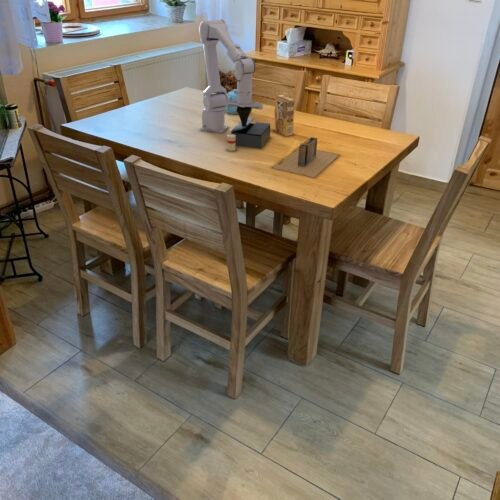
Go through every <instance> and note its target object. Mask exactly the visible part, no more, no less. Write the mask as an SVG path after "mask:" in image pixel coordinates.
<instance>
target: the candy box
mask: <svg viewBox="0 0 500 500" xmlns="http://www.w3.org/2000/svg"><path fill="white" fill-rule="evenodd" d="M295 100H296V99H294V98H291V97H289V96H287V95H284V94H280V95H275V97H274V123H273V124H274V127H273V131H275V132H276V133H279V134H281V135H283V136H286V137H287V136H293V134H294V121H295V102H296V101H295Z"/></svg>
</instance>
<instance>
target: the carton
mask: <svg viewBox="0 0 500 500" xmlns="http://www.w3.org/2000/svg"><path fill="white" fill-rule="evenodd" d="M230 134H233V135H235V136H236V147H244V148H253V149H262V148H263V147H264V145H265V144H266V143H267V142H268V140H269V139H270V138H271V123H269V122H259V121H255V123H253V122H251V123H250V124H249V125H248V126H247V127H246V128H245V129H241V130H237V131H232V132H231V131H230Z"/></svg>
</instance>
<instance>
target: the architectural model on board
mask: <svg viewBox="0 0 500 500" xmlns="http://www.w3.org/2000/svg"><path fill="white" fill-rule="evenodd" d="M318 140H319V138H318V137H314V136H310V137H309V138H308V139H306V140H305V141H304V142H302V143H300V144H299V146H298V149H296V151H294V152H292V153H291V154H290V155H289V156H287V157H286V158H285V159H283V160H282V161H280V162H279V163H278V164H276V165H275V166H274V167H273V169H275V170H280V171H284V172H285V171H286V172H289V173H293V174H297V175H302V176H307V177H311V178H316V176H317V175H319V174H320V173H321V172H322V171H324V169H326V167H328V166H329V165H330V164H331V163H332V162H333V161H334V160H335V159H336V158H338V157H339V156H340V155H339V154H335V153H330V152H326V151H320V150H317V149H318Z"/></svg>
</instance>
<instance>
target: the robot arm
mask: <svg viewBox="0 0 500 500" xmlns="http://www.w3.org/2000/svg"><path fill="white" fill-rule="evenodd" d="M228 30H229V29H228V24H227V22H226V21H225V19H222V18H221V19H212V20H202V21H201V22H200V24H199V27H198V32H199V39H200V43H201V44H202V47H203V53H204V54H203V55H204V62H205V69H206V70H205V71H206V78H207V85H208V86H207V87H206V88H205V90H203V92H202V93H203V94H202V95H203V98H202V103H203V106H204V108H203V109H202V113H201V127H202V128H201V130H202V131H203V132H205V131H207V132H215V133H223V132H224V131H225V130H227V128H228V126H227V125H226V123H225V122H226V120H225V119H226V117H225V116H226V115H225V114H226V112H225V111H224V110H225V109H226V107H227V106H233V107H237V109H236V110H237V113H238V114H237V115H238V117H239V119H240V120H239V121H241V124H242V126H246V125H247V120H248V119H249V116H250V114H251V112H252V110H260V111H262V110H263V108H264V103H260V102H256V101H253V95H252V94H253V74H254V73H255V72H256V68H257V67H256V62H255V59H254V58H253V57H250V56H248V55H246V53H245V51H244V50H243V48H242V47H241V45H240V44H238V43H235V42H234V40H233V39H232V37H231V35H230V33H229V31H228ZM219 42H220V43H221V44H222V46H224V48H225V49H226V54H227V57H228V58H229V60H230V61H231V62H232V64H233V69H234V72H235V79H236V89H237V100H229V98H228V95H227V94H228V92H227V89H226V88H225V87H224V86H222V84H221V76H220V69H219V60H218V53H217V51H218V50H217V45H218V43H219Z"/></svg>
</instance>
